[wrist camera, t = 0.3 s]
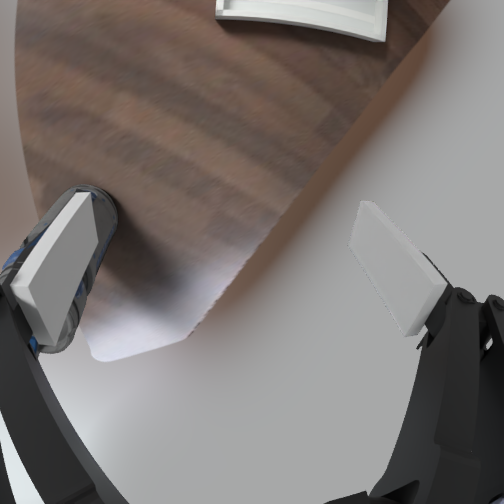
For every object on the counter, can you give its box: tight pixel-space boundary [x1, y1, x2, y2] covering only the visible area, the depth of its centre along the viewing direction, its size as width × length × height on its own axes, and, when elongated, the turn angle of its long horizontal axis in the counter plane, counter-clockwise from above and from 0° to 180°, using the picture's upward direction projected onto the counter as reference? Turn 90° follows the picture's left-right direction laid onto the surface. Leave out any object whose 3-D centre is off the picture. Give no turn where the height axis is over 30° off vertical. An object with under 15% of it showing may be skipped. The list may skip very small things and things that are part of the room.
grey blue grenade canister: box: [0, 184, 118, 358], centre depth 30 cm, size 10×13×25 cm
